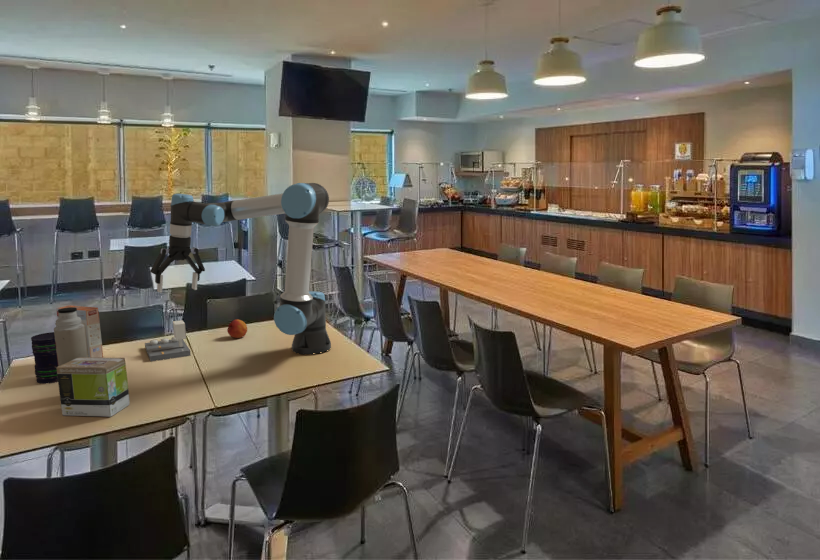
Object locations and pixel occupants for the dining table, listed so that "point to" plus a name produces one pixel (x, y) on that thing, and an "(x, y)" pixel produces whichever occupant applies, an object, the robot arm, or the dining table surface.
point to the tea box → (93, 386)
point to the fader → (179, 331)
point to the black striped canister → (45, 357)
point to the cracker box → (90, 329)
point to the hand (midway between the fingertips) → (177, 290)
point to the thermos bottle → (69, 336)
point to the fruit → (237, 329)
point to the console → (166, 349)
